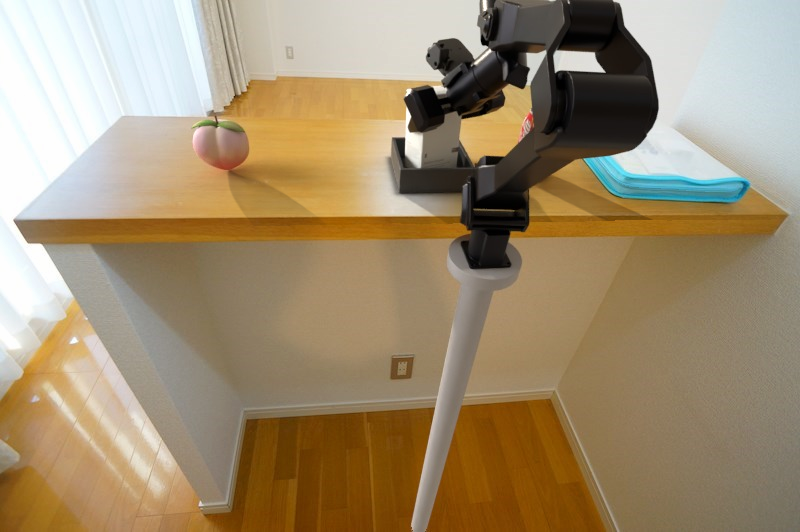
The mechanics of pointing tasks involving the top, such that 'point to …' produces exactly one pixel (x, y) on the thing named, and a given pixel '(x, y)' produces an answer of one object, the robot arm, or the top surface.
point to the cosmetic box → (434, 141)
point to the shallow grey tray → (429, 172)
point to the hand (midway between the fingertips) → (428, 124)
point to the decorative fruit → (220, 143)
